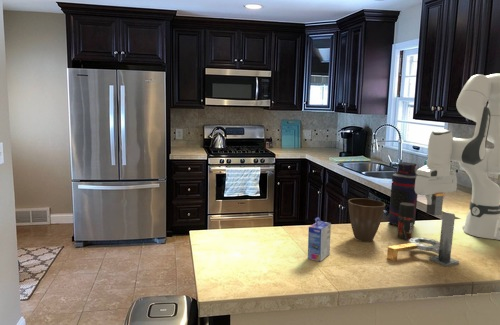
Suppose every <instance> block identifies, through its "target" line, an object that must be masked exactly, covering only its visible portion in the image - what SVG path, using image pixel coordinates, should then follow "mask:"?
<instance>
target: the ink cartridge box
mask: <svg viewBox="0 0 500 325" xmlns="http://www.w3.org/2000/svg"><path fill="white" fill-rule="evenodd" d="M314 221H315V223H313V224H311V225H310V226H309V227H308V236H307V237H308V240H307V241H308V242H307V259H308V260H312V261H316V262H322V261H323V260H324V259H325V258H326V257H328V256H329V255H330V253H331V236H332V235H331V232H332V231H331V229H332V223H331V222H327V221H323V220H321V219H320V217H319V216H317V217H315V218H314Z"/></svg>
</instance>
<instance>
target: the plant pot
mask: <svg viewBox="0 0 500 325" xmlns="http://www.w3.org/2000/svg"><path fill="white" fill-rule="evenodd" d="M385 208H386V204H385V202H383V201H381V200H378V199H377V200H376V199H371V198H351V199H348V213H349V222H350V224H351V230H352V233H353V236H354V239H355V240H356V241H359V242H366V243H369V242H372V241H373V240H374V238H375V237H376V234H377V232H378V230H379V227H380V225H381V222H382V218H383V215H384V212H385Z"/></svg>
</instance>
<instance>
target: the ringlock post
mask: <svg viewBox="0 0 500 325" xmlns="http://www.w3.org/2000/svg"><path fill="white" fill-rule="evenodd" d="M455 218H456V215H455V213H450V212H443V213H442V218H441V228H440V237H439V241H438V240H436V239H432V238H428V237H419V236H416V237H412V238H410V239H409V240H408V242H407V243H401V244H394V245H389V246H387V256H386V259H388V260H391V261H398V255H399V252H404V251H410V250H420V251H425V252H432V253H434V254H437V255H434V256H433V255H432V256H430V257H429V258H428V260H430V261H431V260H432V262H435V263H436V264H439V265H441V266H443V267H451V266H454V265H459V264H460V261H459V260H458V259H455V258H453V257H452V245H453V238H454V237H453V236H454V229H455V221H456V220H455ZM420 243H422V244H420Z"/></svg>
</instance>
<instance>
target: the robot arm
mask: <svg viewBox="0 0 500 325" xmlns="http://www.w3.org/2000/svg"><path fill="white" fill-rule="evenodd" d="M487 102H488V103H487ZM455 104H456V105H455V106H456V109H457V112H458V113H459V114H460V115H461V116H462V117H464V118H465V119H467V120H471V121H473V122H474V123H475V128H474V133H473V136H472V137H470V138H463V137H461V138H460V137H454V136H453V132H452V130H449V129H445V128H444V129H443V128H442V129H441V128H440V129H435V130H432V132H431V133H430V136H429V138H428V146H427V159H426V164H425V165H423V166H421V167H419V168H418V169H417V168H416V174H417V175H416V176H417V177H416V180H415V193H416V194H418V195H419V196H425V198H426V205H427V204H428V205H433V200H432V199H431V197H432V194H436V193H445V196H443V200H444V198H445V197H446V194H447V193H454V192H457V187H458V178H457V177H458V176H457V172H456V170H454V169H452V168H451V164H452V162H456V163H457V162H458V165H459V166H460V168H461V169H462V170H464V171H465V172H466V174H467V175H468V177H469V179H470V181H471V186H472V187H471V188H472V189H471V201H470V202H469V211H467V215H466V218H465V223H464V225H463V226H462V229H463V232H464V233H466V234H468V235H470V236H473V237H478V238H481V239H491V240H497V241H500V185H499V184H498V183H496V182H495V181H493V180H491V179H490V178H489V176H488V174H492V175H500V73H492V74H491V73H490V74H488V75H484V74H474V75H471V76H470V78H469V79H468V80H467V81H466V83H465V84H464V85H463V87H462V89H461V91H460V93H459V95H458V98H457V100H456V103H455ZM487 141H488V142H489V143H492V144H493V145H494V146H493V148H487Z"/></svg>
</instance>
